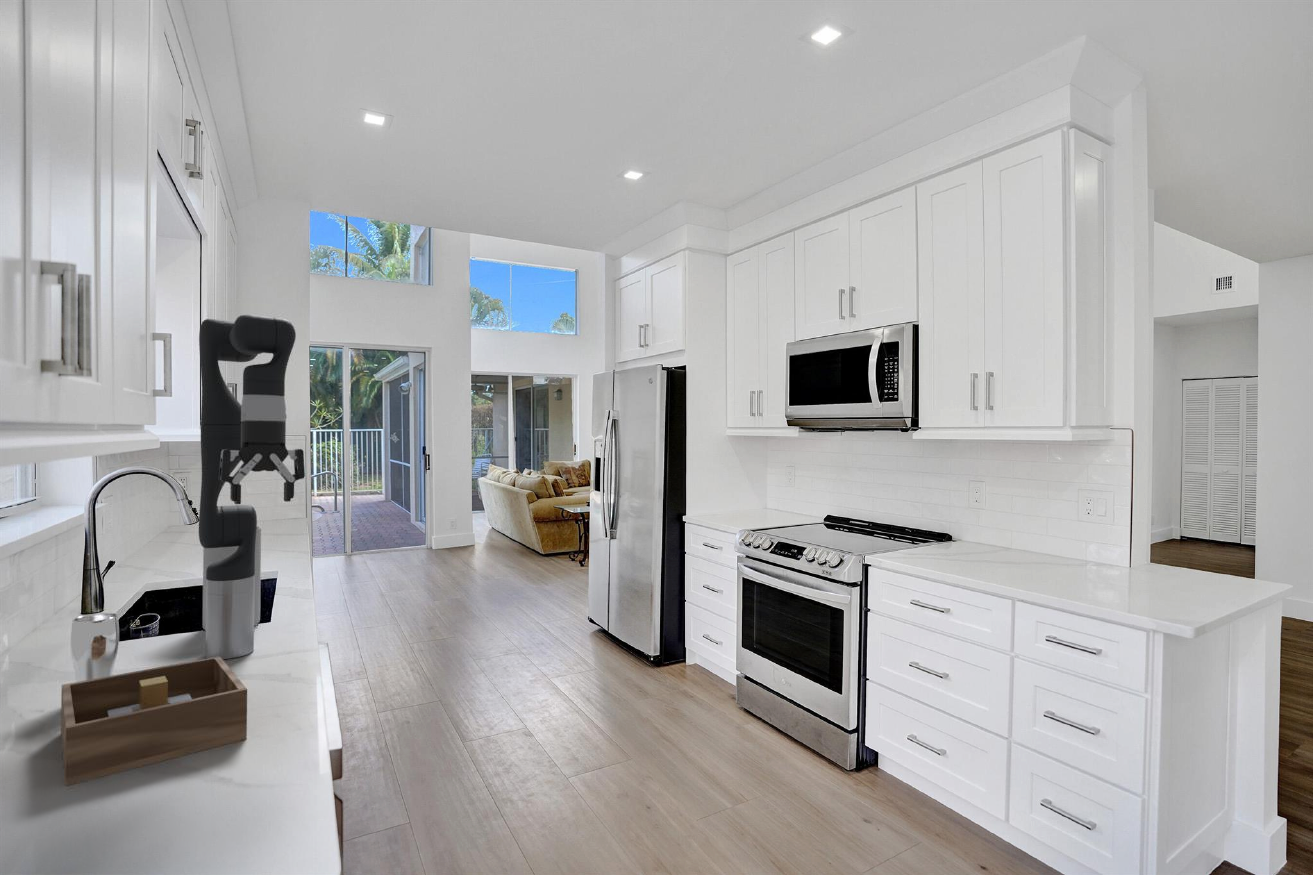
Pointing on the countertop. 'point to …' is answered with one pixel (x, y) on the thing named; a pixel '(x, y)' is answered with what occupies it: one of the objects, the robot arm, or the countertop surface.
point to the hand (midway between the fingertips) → (262, 502)
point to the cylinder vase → (223, 552)
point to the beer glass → (94, 645)
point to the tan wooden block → (153, 692)
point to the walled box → (149, 718)
